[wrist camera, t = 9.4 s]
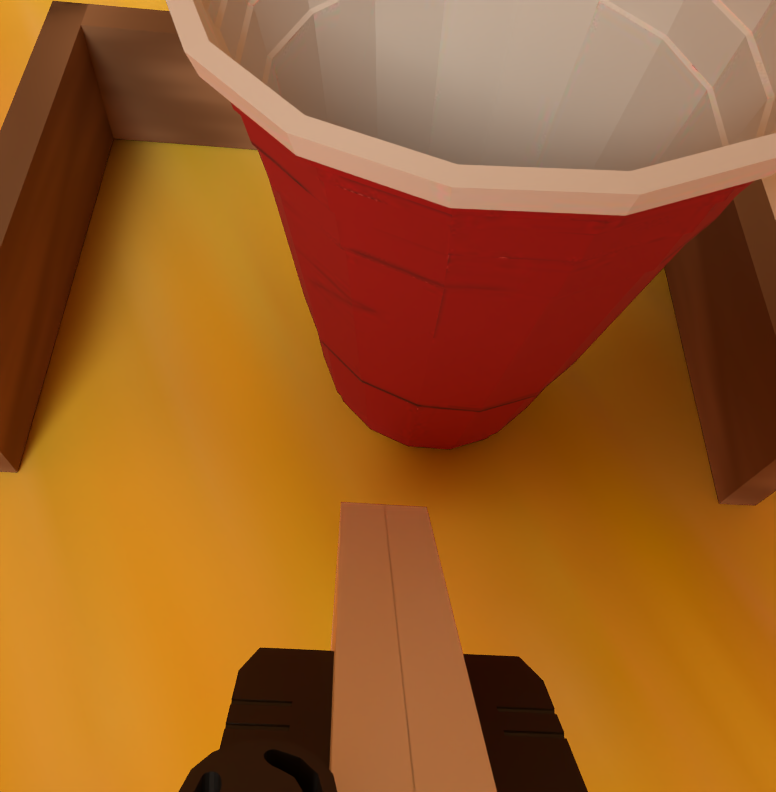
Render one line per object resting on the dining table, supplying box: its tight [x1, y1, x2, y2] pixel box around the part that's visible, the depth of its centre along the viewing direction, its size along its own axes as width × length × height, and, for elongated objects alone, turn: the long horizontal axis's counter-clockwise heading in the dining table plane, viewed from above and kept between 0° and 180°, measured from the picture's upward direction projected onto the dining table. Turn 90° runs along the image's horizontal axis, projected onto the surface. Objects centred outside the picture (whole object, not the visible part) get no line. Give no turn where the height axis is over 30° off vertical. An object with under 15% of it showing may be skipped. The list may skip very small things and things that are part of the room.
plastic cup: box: [166, 0, 776, 449], centre depth 16 cm, size 11×11×12 cm
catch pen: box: [0, 1, 776, 505], centre depth 20 cm, size 20×13×4 cm, turn 89°
